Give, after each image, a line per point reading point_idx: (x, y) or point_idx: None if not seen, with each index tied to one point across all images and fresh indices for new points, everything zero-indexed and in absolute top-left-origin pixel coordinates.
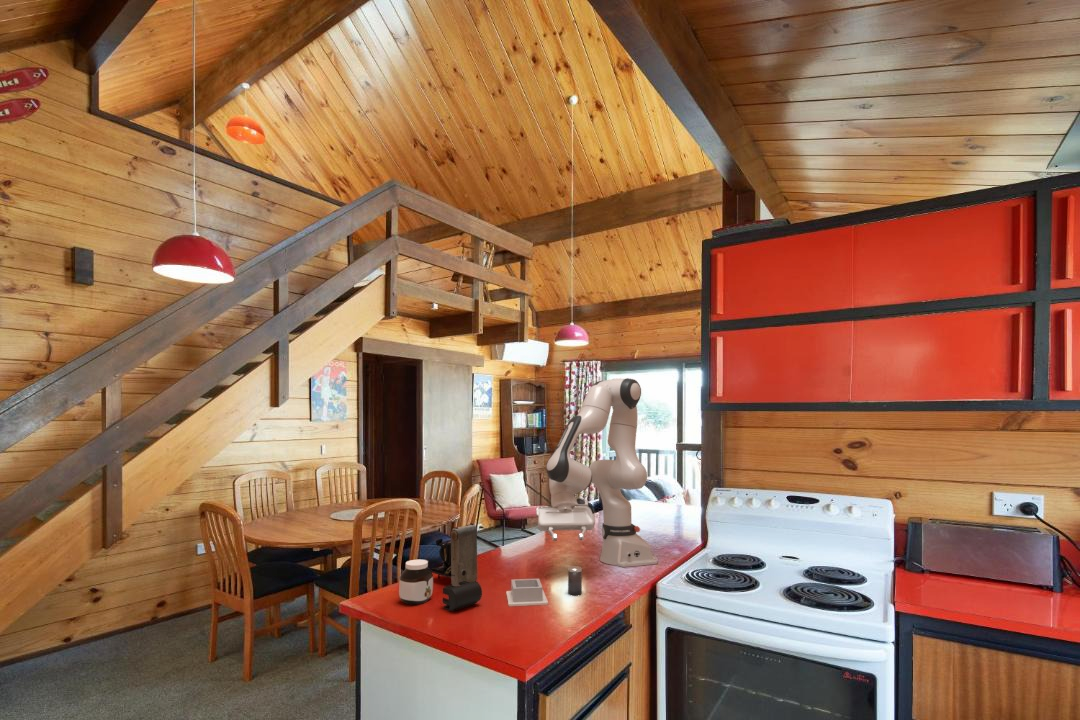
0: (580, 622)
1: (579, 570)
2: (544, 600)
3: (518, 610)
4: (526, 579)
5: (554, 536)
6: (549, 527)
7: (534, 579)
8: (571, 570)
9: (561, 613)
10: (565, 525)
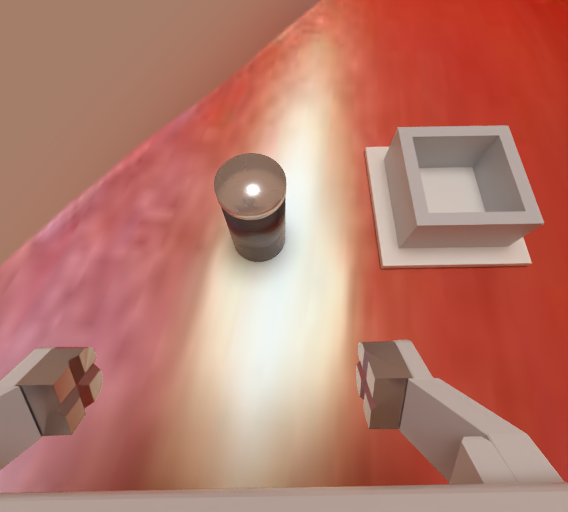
0: (287, 49)
1: (233, 160)
2: (377, 164)
3: (452, 121)
4: (474, 219)
5: (395, 350)
6: (543, 478)
7: (437, 215)
8: (272, 162)
9: (328, 95)
10: (211, 491)
